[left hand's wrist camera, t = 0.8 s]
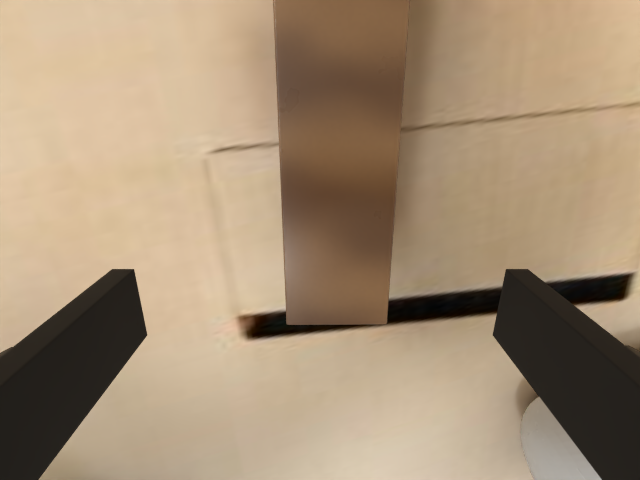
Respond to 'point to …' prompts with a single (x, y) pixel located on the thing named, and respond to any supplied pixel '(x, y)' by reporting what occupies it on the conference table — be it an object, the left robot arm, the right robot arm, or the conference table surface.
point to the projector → (551, 447)
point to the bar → (339, 153)
